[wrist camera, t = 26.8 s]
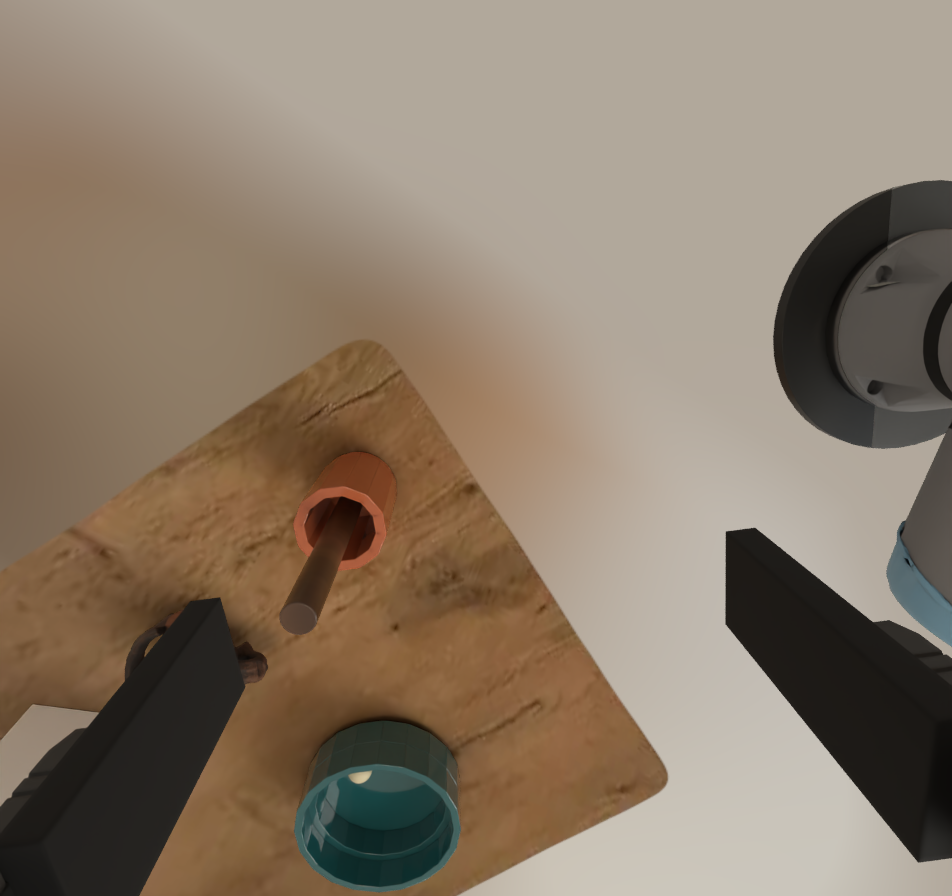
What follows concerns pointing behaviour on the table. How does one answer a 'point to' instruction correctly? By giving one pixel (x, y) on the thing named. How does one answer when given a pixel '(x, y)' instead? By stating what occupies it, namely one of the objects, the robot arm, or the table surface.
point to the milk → (35, 741)
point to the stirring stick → (320, 569)
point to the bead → (360, 777)
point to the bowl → (380, 807)
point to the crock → (361, 483)
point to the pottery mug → (248, 659)
